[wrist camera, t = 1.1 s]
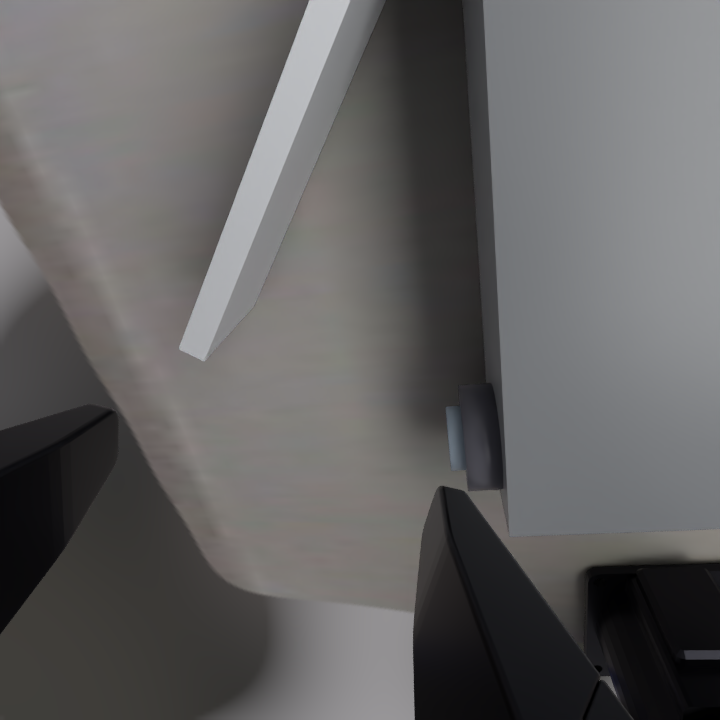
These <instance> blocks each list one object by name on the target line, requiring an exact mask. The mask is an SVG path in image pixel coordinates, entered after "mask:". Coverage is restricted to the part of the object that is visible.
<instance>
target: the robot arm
mask: <svg viewBox="0 0 720 720" xmlns="http://www.w3.org/2000/svg"><path fill="white" fill-rule="evenodd" d="M118 452H119V416H118V413H117V411H116V410H115V409H113V408H109V407H104V406H100V405H96V404H87V405H84V406H81V407H77V408H74V409H70V410H67V411H64V412H60V413H57V414H54V415H51V416H47V417H44V418H40V419H38V420H34V421H31V422H27V423H24V424H21V425H17V426H14V427H11V428H7V429H4V430H1V431H0V634H1V633H2V631H3V630H4V629H5V627H6V626H7V625H8V623H9V622H10V621H11V619H12V618H13V617H14V615H15V614H16V613H17V612H18V610H19V609H20V608H21V606H22V605H23V604H24V602H25V601H26V600H27V598H28V597H29V595H30V594H31V593H32V592H33V590H34V589H35V588H36V586H37V585H38V584H39V582H40V581H41V580H42V579H43V577H44V576H45V575H46V573H47V572H48V571H49V569H50V568H51V567H52V565H53V564H54V563H55V561H56V560H57V558H58V557H59V556H60V554H61V553H62V551H63V550H64V549H65V547H66V546H67V544H68V543H69V541H70V539H71V538H72V536H73V535H74V533H75V531H76V530H77V528H78V526H79V525H80V523H81V521H82V519H83V518H84V516H85V515H86V513H87V511H88V510H89V508H90V506H91V505H92V503H93V501H94V500H95V498H96V496H97V495H98V493H99V491H100V490H101V488H102V486H103V485H104V483H105V481H106V480H107V478H108V476H109V475H110V473H111V471H112V470H113V468H114V466H115V464H116V461H117V458H118ZM600 578H601V579H600ZM596 579H600V580H596ZM413 662H414V663H413V664H414V706H415V720H720V564H689V565H654V566H619V567H595V568H592V569H590V570H589V571H588V572H587V573H586V579H585V621H584V652H583V651H582V650H581V648H580V647H579V646H578V644H577V643H576V641H575V640H574V639H573V637H572V636H571V635H570V633H569V632H568V631H567V629H566V628H565V627H564V625H563V624H562V622H561V621H560V620H559V618H558V617H557V616H556V614H555V613H554V612H553V610H552V609H551V608H550V606H549V605H548V604H547V602H546V601H545V599H544V598H543V597H542V595H541V594H540V593H539V591H538V590H537V589H536V587H535V586H534V585H533V583H532V582H531V580H530V579H529V578H528V576H527V575H526V574H525V572H524V571H523V570H522V568H521V567H520V566H519V564H518V563H517V562H516V560H515V559H514V557H513V556H512V555H511V553H510V552H509V551H508V549H507V548H506V547H505V545H504V544H503V543H502V541H501V540H500V538H499V537H498V536H497V534H496V533H495V532H494V530H493V529H492V528H491V526H490V525H489V524H488V522H487V521H486V520H485V518H484V517H483V515H482V514H481V513H480V511H479V510H478V509H477V507H476V506H475V505H474V503H473V502H472V501H471V499H470V498H469V496H468V495H467V494H466V493H465V492H464V491H462V490H458V489H454V488H449V487H445V486H440V487H439V488H438V489H437V490H436V492H435V495H434V498H433V501H432V504H431V507H430V510H429V513H428V516H427V519H426V522H425V525H424V529H423V534H422V541H421V551H420V561H419V572H418V582H417V593H416V603H415V614H414V628H413ZM600 676H611V679H612V682H613V685H614V688H615V691H616V694H617V697H618V698H617V697H616V695H615V694H614V693H613V691H612V690H611V689H610V687H609V686H608V684H607V683H606V682H605V681H604V680H600ZM599 680H600V681H599Z"/></svg>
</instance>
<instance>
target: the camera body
mask: <svg viewBox="0 0 720 720" xmlns="http://www.w3.org/2000/svg"><path fill="white" fill-rule="evenodd" d="M462 2H463V18H464V34H465V50H466V66H467V82H468V98H469V114H470V130H471V146H472V162H473V178H474V194H475V210H476V226H477V242H478V258H479V275H480V291H481V307H482V323H483V339H484V355H485V371H486V383H483V384H471V385H459V386H458V392H459V405H460V406H449V407H446V419H447V430H448V441H449V452H450V462H451V471H458V470H466V477H467V485H468V491H482V490H500V493H501V497H502V502H503V507H504V512H505V517H506V522H507V527H508V532H509V537H521V536H547V535H574V534H600V533H627V532H653V531H679V530H706V529H720V0H462Z"/></svg>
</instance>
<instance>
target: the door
mask: <svg viewBox="0 0 720 720" xmlns="http://www.w3.org/2000/svg"><path fill="white" fill-rule="evenodd" d="M385 1H386V0H309V3H308V5H307V8H306V11H305V13H304V16H303V19H302V21H301V24H300V27H299V29H298V32H297V35H296V37H295V40H294V43H293V45H292V48H291V51H290V53H289V56H288V59H287V61H286V64H285V67H284V69H283V72H282V75H281V77H280V80H279V83H278V85H277V88H276V91H275V93H274V96H273V99H272V101H271V104H270V107H269V109H268V112H267V115H266V117H265V120H264V123H263V125H262V128H261V131H260V133H259V136H258V139H257V141H256V144H255V147H254V149H253V152H252V155H251V157H250V160H249V163H248V165H247V168H246V171H245V173H244V176H243V179H242V181H241V184H240V187H239V189H238V192H237V195H236V197H235V200H234V203H233V205H232V208H231V211H230V213H229V216H228V219H227V221H226V224H225V227H224V229H223V232H222V235H221V237H220V240H219V242H218V245H217V248H216V250H215V253H214V256H213V258H212V261H211V264H210V266H209V269H208V272H207V274H206V277H205V280H204V282H203V285H202V288H201V290H200V293H199V296H198V298H197V301H196V304H195V306H194V309H193V312H192V314H191V317H190V320H189V322H188V325H187V328H186V330H185V333H184V336H183V338H182V341H181V344H180V346H179V350H181V351H183V352H185V353H187V354H190V355H192V356H194V357H196V358H198V359H200V360H202V361H205V360H206V359H207V358H208V357H209V356H210V355H211V354H212V352H213V351H214V350H215V349H216V348H217V347H218V346H219V345H220V344H221V342H222V341H223V340H224V339H225V338H226V337H227V336H228V335H229V334H230V332H231V331H232V330H233V329H234V328H235V327H236V326H237V325H238V324H239V322H240V321H241V320H242V319H243V318H244V317H245V316H246V315H247V314H248V313H249V311H250V310H251V309H252V308H253V307H254V306H255V303H256V301H257V299H258V296H259V294H260V292H261V289H262V287H263V285H264V282H265V280H266V278H267V275H268V273H269V271H270V268H271V266H272V264H273V262H274V259H275V257H276V255H277V252H278V250H279V248H280V245H281V243H282V241H283V238H284V236H285V234H286V231H287V229H288V227H289V224H290V222H291V220H292V217H293V215H294V213H295V210H296V208H297V206H298V203H299V201H300V199H301V196H302V194H303V192H304V189H305V187H306V185H307V183H308V180H309V178H310V176H311V173H312V171H313V169H314V166H315V164H316V162H317V159H318V157H319V155H320V152H321V150H322V148H323V145H324V143H325V141H326V138H327V136H328V134H329V131H330V129H331V127H332V124H333V122H334V120H335V117H336V115H337V113H338V111H339V108H340V106H341V104H342V101H343V99H344V97H345V94H346V92H347V90H348V87H349V85H350V83H351V80H352V78H353V76H354V73H355V71H356V69H357V66H358V64H359V62H360V59H361V57H362V55H363V52H364V50H365V48H366V45H367V43H368V41H369V38H370V36H371V34H372V32H373V29H374V27H375V25H376V22H377V20H378V18H379V15H380V13H381V11H382V8H383V6H384V4H385Z"/></svg>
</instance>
